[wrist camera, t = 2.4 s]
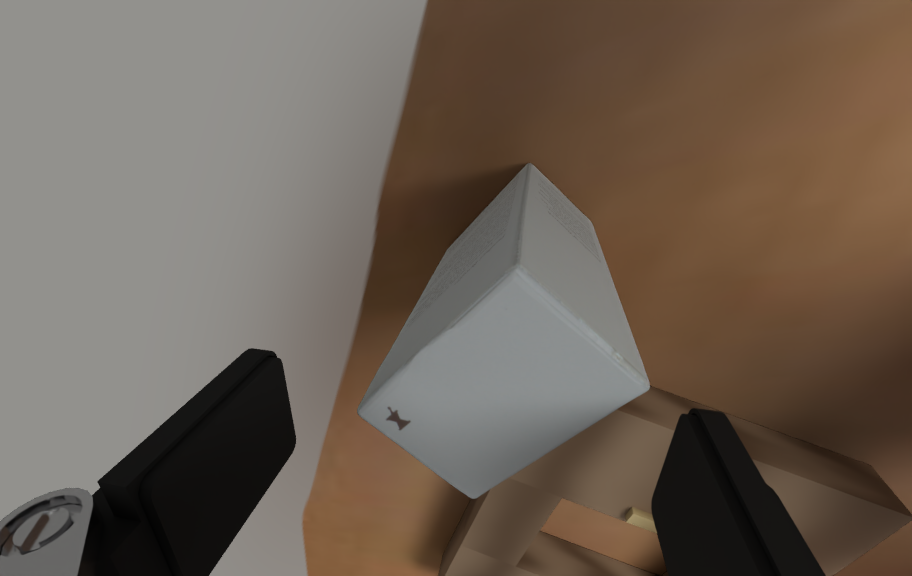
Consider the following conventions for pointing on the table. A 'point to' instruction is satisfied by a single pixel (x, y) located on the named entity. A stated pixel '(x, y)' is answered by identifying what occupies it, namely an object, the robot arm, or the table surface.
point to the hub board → (632, 486)
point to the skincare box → (508, 343)
